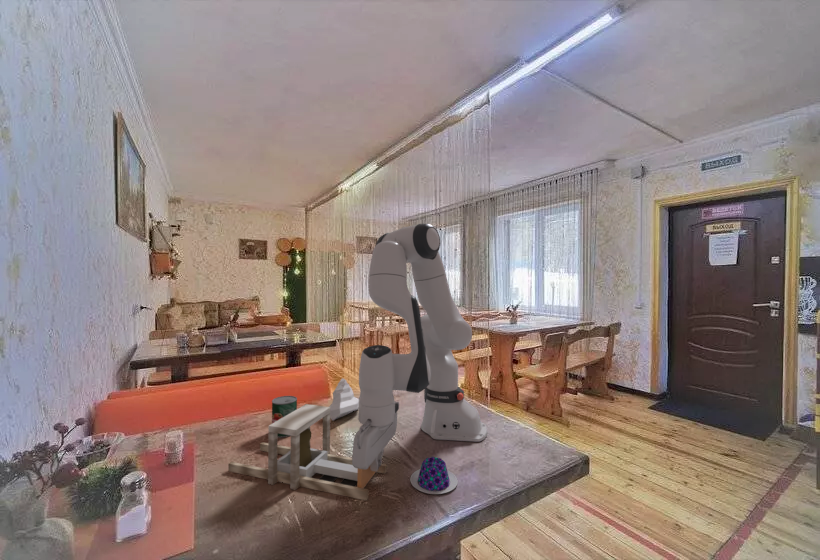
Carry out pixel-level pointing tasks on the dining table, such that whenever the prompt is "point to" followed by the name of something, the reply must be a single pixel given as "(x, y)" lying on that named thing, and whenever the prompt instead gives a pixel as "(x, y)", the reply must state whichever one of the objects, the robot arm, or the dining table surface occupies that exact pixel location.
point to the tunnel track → (293, 427)
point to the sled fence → (327, 468)
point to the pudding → (433, 477)
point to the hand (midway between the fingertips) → (376, 468)
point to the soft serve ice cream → (343, 401)
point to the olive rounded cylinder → (305, 448)
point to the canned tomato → (283, 409)
